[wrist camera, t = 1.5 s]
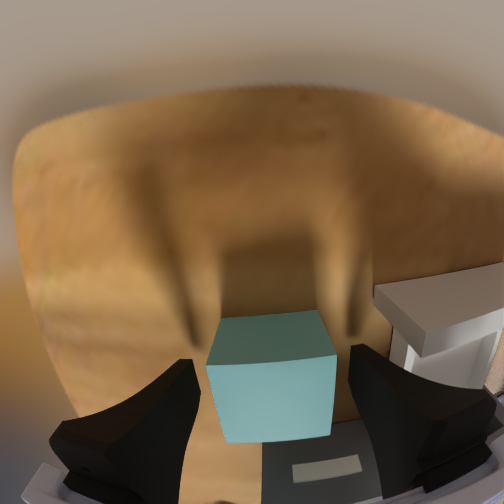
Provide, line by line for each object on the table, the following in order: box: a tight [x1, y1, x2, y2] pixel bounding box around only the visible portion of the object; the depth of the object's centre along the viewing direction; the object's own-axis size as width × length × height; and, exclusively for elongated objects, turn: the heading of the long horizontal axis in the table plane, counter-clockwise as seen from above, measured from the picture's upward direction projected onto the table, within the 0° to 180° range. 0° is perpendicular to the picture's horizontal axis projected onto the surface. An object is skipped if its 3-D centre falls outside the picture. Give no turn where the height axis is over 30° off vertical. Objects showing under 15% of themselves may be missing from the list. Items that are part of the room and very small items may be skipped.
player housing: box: [261, 385, 504, 504], centre depth 12 cm, size 16×10×6 cm, turn 96°
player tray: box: [374, 262, 504, 389], centre depth 10 cm, size 10×9×5 cm
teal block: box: [206, 310, 337, 443], centre depth 11 cm, size 4×4×4 cm
